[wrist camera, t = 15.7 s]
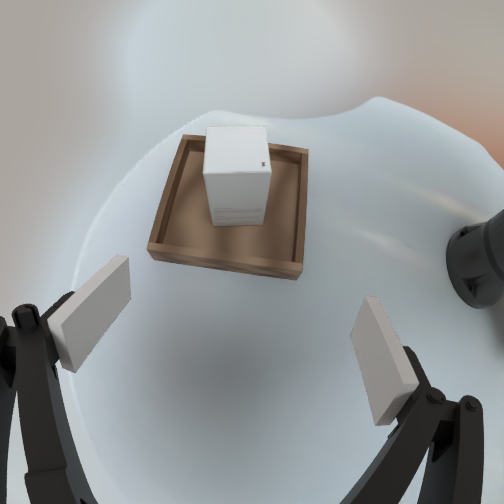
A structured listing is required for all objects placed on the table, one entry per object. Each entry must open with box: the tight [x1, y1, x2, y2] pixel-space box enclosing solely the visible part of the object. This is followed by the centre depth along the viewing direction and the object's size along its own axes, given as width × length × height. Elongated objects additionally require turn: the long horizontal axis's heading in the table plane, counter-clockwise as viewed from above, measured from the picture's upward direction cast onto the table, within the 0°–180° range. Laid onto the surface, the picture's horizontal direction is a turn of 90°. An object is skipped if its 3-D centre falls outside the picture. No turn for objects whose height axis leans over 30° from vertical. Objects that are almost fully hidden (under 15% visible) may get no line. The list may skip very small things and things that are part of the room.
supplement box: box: [203, 126, 272, 226], centre depth 37 cm, size 7×7×13 cm
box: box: [147, 134, 308, 280], centre depth 42 cm, size 20×20×4 cm
